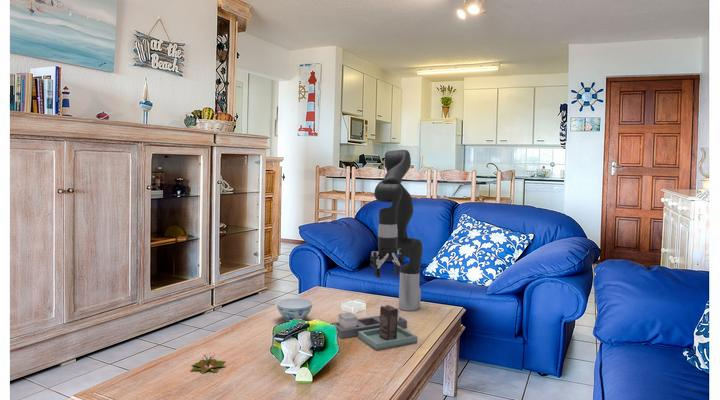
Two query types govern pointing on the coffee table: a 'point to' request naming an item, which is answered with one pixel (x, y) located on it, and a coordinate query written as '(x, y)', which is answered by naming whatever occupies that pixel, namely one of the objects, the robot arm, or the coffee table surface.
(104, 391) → the coffee table surface
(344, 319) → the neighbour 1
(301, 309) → the chinaware
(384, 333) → the box
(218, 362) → the lily flower
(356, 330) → the slot holder
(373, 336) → the tray
